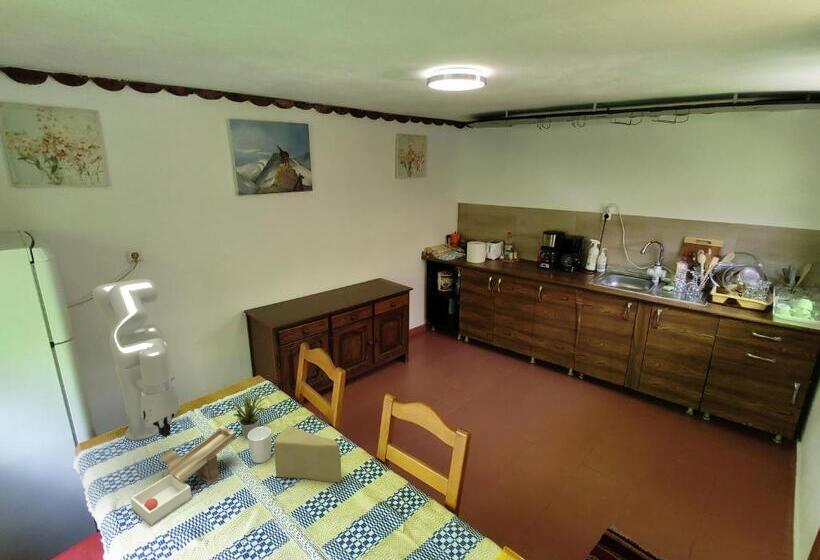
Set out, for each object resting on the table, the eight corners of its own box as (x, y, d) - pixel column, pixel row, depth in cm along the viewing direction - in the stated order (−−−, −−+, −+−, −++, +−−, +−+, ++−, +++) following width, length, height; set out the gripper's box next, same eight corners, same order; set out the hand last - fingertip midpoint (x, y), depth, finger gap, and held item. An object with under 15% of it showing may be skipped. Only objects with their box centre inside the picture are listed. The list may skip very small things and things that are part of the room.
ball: (156, 497, 125) (148, 508, 124) (146, 495, 123) (139, 507, 121) (162, 501, 124) (155, 514, 122) (152, 500, 121) (145, 513, 119)
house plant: (280, 431, 161) (277, 395, 157) (250, 450, 150) (246, 412, 146) (256, 419, 169) (254, 384, 164) (226, 436, 157) (222, 399, 153)
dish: (132, 509, 123) (130, 497, 122) (172, 484, 133) (171, 473, 132) (151, 526, 118) (149, 513, 117) (191, 498, 128) (190, 486, 127)
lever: (156, 465, 134) (152, 456, 133) (210, 426, 150) (207, 417, 148) (183, 485, 127) (179, 475, 125) (237, 441, 142) (234, 432, 140)
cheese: (346, 471, 141) (346, 434, 137) (334, 492, 132) (333, 453, 128) (290, 458, 147) (287, 422, 143) (274, 477, 138) (272, 440, 134)
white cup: (265, 466, 143) (263, 442, 140) (245, 462, 144) (243, 438, 141) (276, 451, 150) (275, 428, 147) (257, 448, 152) (255, 425, 149)
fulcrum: (193, 472, 139) (190, 450, 136) (204, 466, 142) (201, 444, 139) (210, 484, 134) (207, 461, 131) (221, 477, 137) (218, 454, 135)
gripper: (174, 372, 136) (181, 419, 141) (125, 392, 124) (134, 442, 129) (187, 378, 133) (193, 426, 138) (138, 399, 120) (147, 451, 125)
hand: (165, 434), depth 133 cm, fingers closed
